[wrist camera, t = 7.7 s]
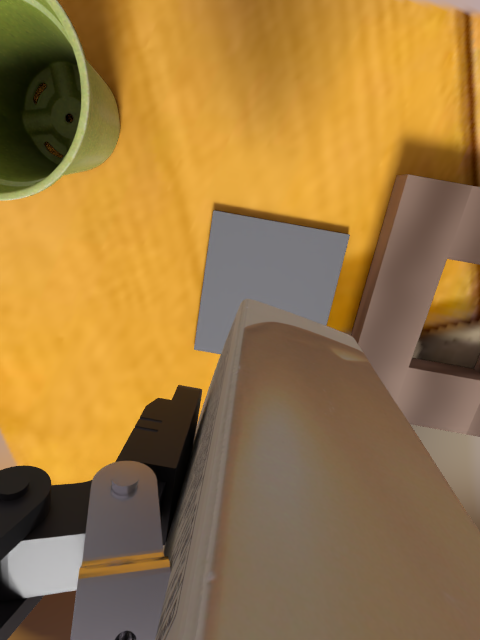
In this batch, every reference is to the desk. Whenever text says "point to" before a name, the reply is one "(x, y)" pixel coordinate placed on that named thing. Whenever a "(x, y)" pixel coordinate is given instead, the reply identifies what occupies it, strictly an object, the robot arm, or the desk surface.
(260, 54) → the desk surface
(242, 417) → the skincare box
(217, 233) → the mat
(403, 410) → the puzzle board
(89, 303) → the desk surface
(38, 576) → the robot arm
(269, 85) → the desk surface
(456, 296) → the desk surface
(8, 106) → the plant pot
